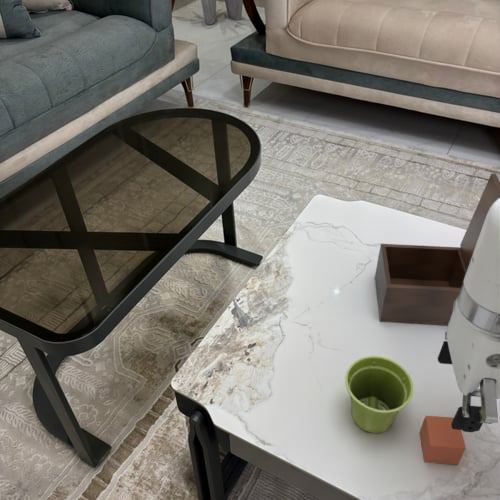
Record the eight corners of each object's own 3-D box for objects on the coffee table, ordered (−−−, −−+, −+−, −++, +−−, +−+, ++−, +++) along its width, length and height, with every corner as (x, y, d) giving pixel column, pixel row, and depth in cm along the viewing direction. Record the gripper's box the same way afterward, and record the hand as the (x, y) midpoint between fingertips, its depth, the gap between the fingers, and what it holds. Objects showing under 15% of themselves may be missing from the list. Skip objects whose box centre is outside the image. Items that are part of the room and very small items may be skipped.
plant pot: (370, 456, 71) (379, 424, 66) (327, 408, 78) (332, 375, 72) (416, 423, 75) (428, 389, 70) (372, 379, 81) (379, 345, 76)
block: (451, 434, 74) (458, 417, 71) (457, 465, 70) (465, 448, 67) (419, 432, 74) (425, 415, 71) (424, 462, 71) (430, 445, 68)
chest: (379, 321, 91) (386, 287, 85) (374, 277, 99) (380, 243, 94) (463, 326, 89) (476, 291, 83) (450, 281, 98) (461, 247, 92)
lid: (511, 215, 73) (543, 219, 73) (491, 173, 82) (519, 176, 82) (474, 289, 83) (502, 293, 83) (459, 245, 92) (485, 248, 92)
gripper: (562, 373, 46) (505, 461, 57) (510, 250, 59) (472, 342, 70) (478, 366, 47) (437, 455, 58) (445, 247, 60) (417, 338, 71)
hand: (456, 393), depth 64 cm, fingers open, 9 cm apart
